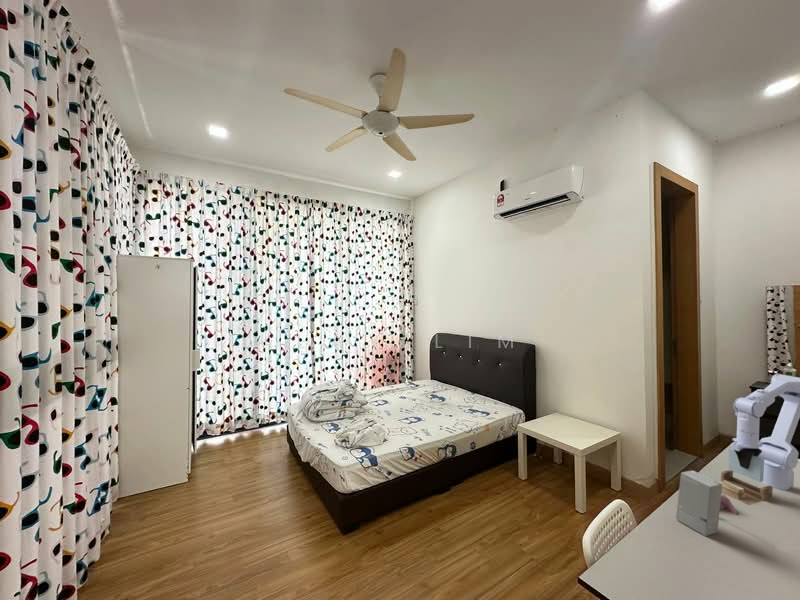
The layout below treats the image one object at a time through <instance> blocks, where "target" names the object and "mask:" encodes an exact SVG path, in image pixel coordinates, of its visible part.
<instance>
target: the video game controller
mask: <svg viewBox="0 0 800 600" xmlns="http://www.w3.org/2000/svg"><path fill="white" fill-rule="evenodd" d="M720 509H727V510H728V511H729V512H731V513H732V514H735V515H738V514H739V513H738V510H737V509H736V508H735V506H734V505H733V504H732V502H731V500H730V499H729V498H728V497H727V496H726V494H723V493H721V502H720Z"/></svg>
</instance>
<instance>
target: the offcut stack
mask: <svg viewBox="0 0 800 600" xmlns="http://www.w3.org/2000/svg"><path fill="white" fill-rule="evenodd" d="M719 483H721V484H722V492H724V493H726V494H728V495H730V496H729V497H731V496H732V497H731V498H733V497H734V498H733V499H735V498H737V499H741V498H745V494H744V489H743V488H741V487H739V486H736V485H734V484H732V483H729V482H727V481H725V480H724V481H721V480H720V481H719ZM724 493H723V494H724ZM726 494H725V495H726ZM728 495H727V496H728ZM737 499H736V500H737Z"/></svg>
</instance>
